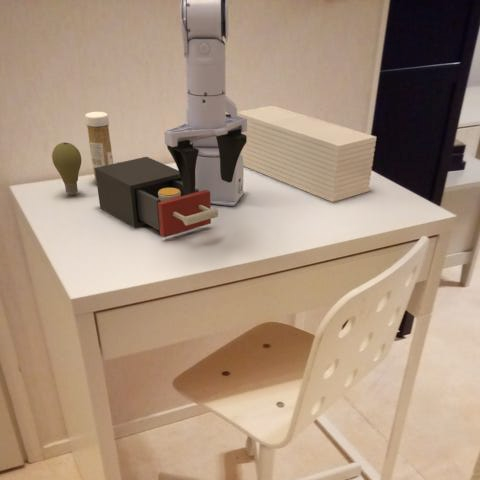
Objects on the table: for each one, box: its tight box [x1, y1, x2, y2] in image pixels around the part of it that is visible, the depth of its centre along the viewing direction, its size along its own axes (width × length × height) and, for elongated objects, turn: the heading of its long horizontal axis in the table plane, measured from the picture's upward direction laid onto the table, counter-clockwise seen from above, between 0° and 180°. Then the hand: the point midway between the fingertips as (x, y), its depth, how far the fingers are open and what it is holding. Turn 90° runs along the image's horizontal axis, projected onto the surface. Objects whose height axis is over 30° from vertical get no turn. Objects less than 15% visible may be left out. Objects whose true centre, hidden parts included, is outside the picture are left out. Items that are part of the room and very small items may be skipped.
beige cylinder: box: [158, 188, 181, 202], centre depth 109 cm, size 4×4×4 cm
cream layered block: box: [237, 105, 377, 203], centre depth 131 cm, size 32×11×11 cm, turn 38°
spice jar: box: [84, 111, 114, 185], centre depth 126 cm, size 5×5×14 cm
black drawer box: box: [95, 156, 182, 229], centre depth 115 cm, size 13×12×8 cm
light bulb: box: [51, 142, 82, 197], centre depth 121 cm, size 6×6×10 cm
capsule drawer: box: [134, 179, 219, 238], centre depth 109 cm, size 16×10×6 cm, turn 40°
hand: (208, 185), depth 99 cm, fingers open, 7 cm apart
